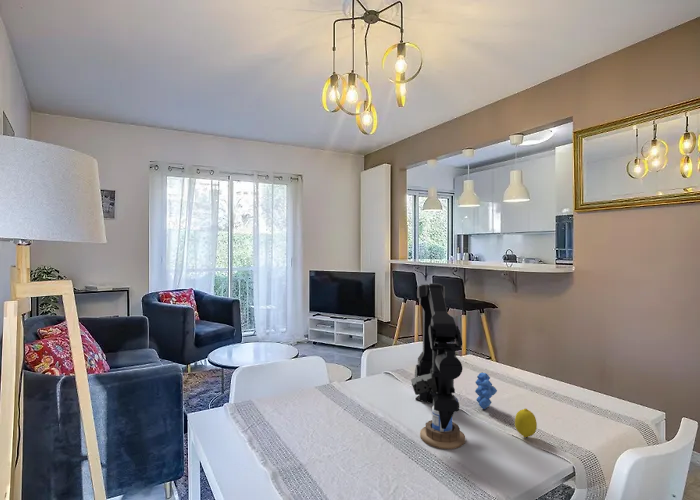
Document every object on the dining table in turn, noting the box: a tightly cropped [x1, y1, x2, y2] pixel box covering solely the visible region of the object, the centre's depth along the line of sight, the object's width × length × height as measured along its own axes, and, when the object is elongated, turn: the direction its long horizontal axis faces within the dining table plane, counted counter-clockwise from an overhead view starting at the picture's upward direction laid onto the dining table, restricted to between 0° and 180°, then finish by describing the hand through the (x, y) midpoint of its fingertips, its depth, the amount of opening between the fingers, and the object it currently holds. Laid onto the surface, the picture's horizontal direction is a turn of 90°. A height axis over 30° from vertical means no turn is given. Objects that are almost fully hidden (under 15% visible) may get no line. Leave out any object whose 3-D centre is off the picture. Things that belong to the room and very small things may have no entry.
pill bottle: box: [431, 405, 453, 432], centre depth 110 cm, size 6×5×10 cm
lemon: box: [514, 408, 538, 438], centre depth 110 cm, size 6×6×8 cm
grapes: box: [474, 372, 498, 410], centre depth 130 cm, size 12×7×12 cm, turn 177°
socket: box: [419, 419, 466, 450], centre depth 110 cm, size 12×12×3 cm
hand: (442, 423), depth 110 cm, fingers closed on pill bottle, 5 cm apart
